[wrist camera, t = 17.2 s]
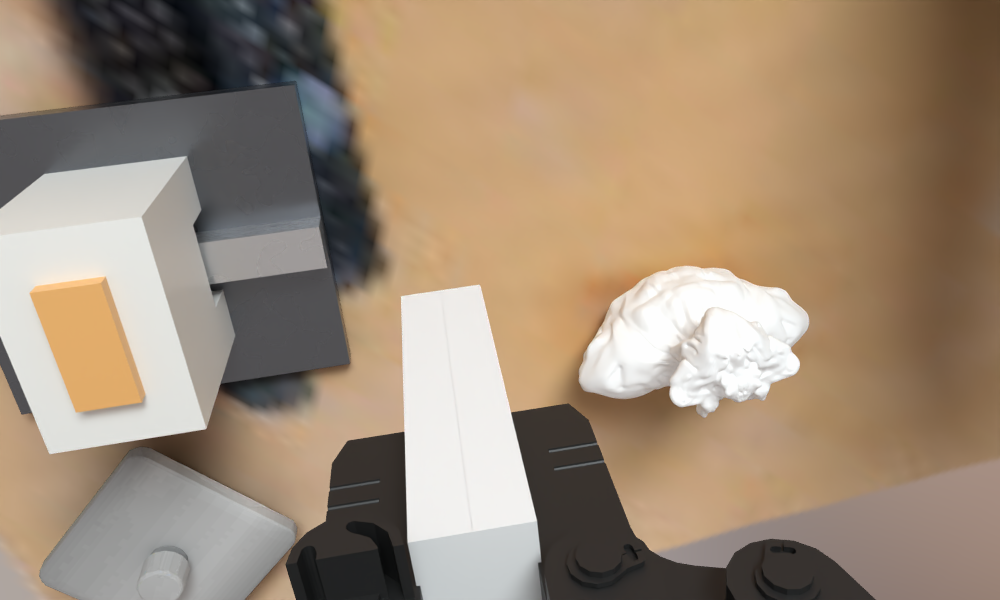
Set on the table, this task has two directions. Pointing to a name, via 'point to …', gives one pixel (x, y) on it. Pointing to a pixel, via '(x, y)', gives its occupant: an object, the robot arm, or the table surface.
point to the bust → (695, 339)
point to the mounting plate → (215, 209)
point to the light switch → (167, 537)
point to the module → (111, 305)
